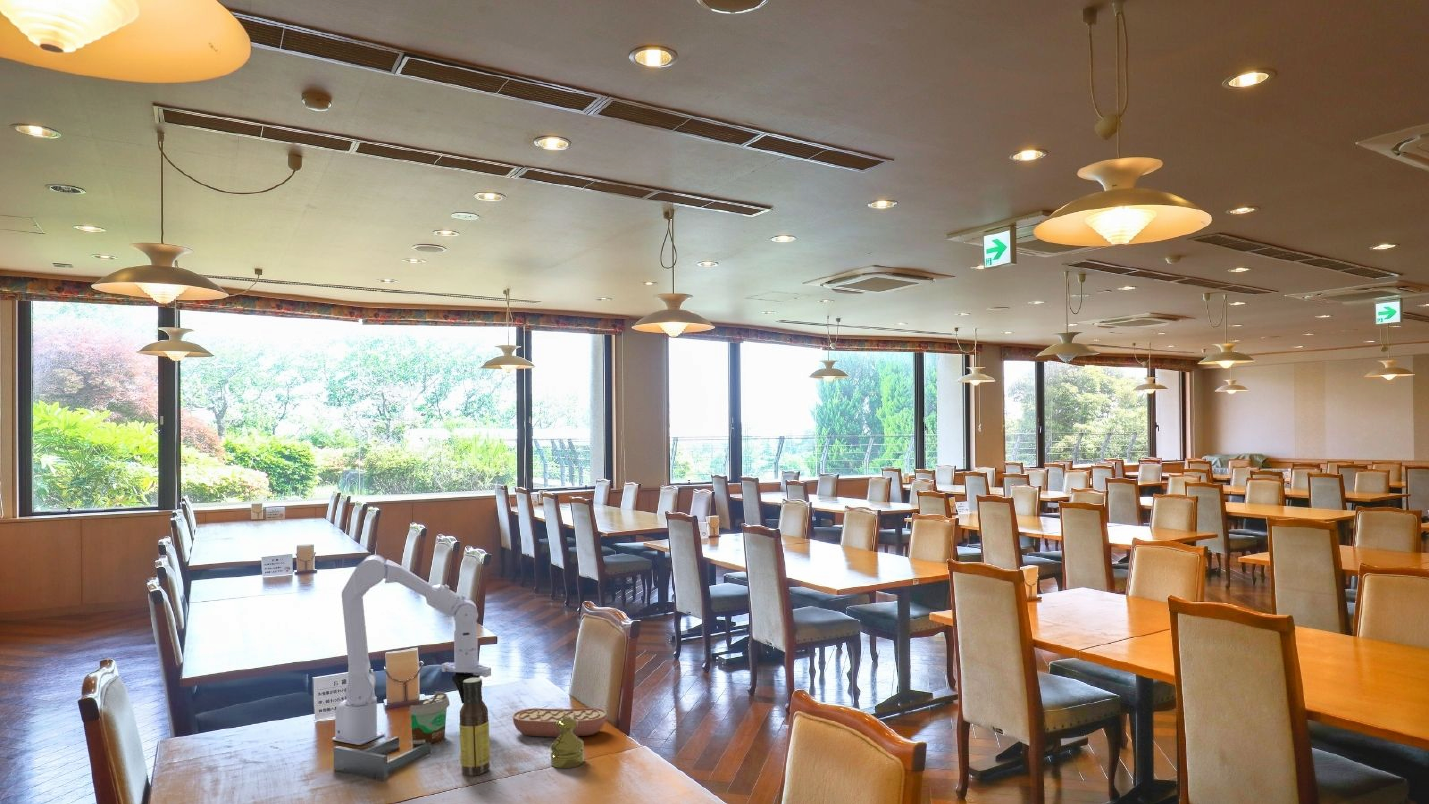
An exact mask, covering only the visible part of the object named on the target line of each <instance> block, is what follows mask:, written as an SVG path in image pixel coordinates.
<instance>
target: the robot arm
mask: <svg viewBox="0 0 1429 804" xmlns="http://www.w3.org/2000/svg"><path fill="white" fill-rule="evenodd" d="M349 577H350V578H348V580H347V582H346V584H345V586H344V587H343V588H342V591H341V602H342V603H341V604H342V612H343V613H342V614H343V615H342V616H343V621H344V622H343V624H344V633H345V643H346V644H345V645H346V651H347V664H348V665H347V666H348V668H347V669H348V670H347V679H348V683H347V686H346V688H345V693H344V694H345V698H346V699H344V700H342V701H340V702H339V704H338V705H337V707H336V710H335V715H334V716H335V718H334V719H335V720H334V723H335V725H334V728H335V729H334V733H335V734H334V737H332V740H333V741H334V742H335V741H337V742H341V743H344V744H345V743H347V744H349V745H350V744H352V745H357V746H361V745H365V744H367V743H368V742H371V741H373V740H376V739H378V738H381V737H382V736H385V735H386V732H383V731H378V728H377V727H378V702H377V701H378V697H377V696H376V695H375V694H374V692H375V687H376V684H377V678H376V675H375V674H374V672H373V671H372V668H371V667H372V666H371V662H370V657H369V649H368V646H369V645H368V640H367V639H368V638H367V636H368V635H367V628H366V618H365V617H366V616H365V608H364V607H365V606H364V598H363V597H364V596H365V595H366V594H367V593H368V591H370V589H371V588H373V587H374V586H376V585H378V584H380V583H381V582H382V581H383V580H384V579H385V580H384V584H391V583H392V584H393V583H398V584H400V585H402V586H403V587H406V588H407V589H410V590H411V591H413V592H415V593H417V594H419V595H421V596H423V597H425V600H426V605H428V606H430V607H431V608H433V609H434V610H437V611H439V612H440V613H442V614H444V615H445V616H448V617H453V619H454V622H455V623H454V626H455V628H454V631H453V636H454V637H453V641H454V642H453V644H454V645H453V651H454V653H453V654H454V655H453V656H454V659H453V662H447V661H446V662H444V663H441V672H443V673H446V672H449V673H455V674H454V675H452V676H451V680H452V681H453V683H454V685H455V687H456V689H457V691H458V694H459V697H460V701H461V704H464V688H463V681H464V680H465V679H468V678H481V677H483V678H488V677H491V676H492V667H488V666H485V665H482V664H480V662H479V658H478V653H479V652H478V651H479V650H478V649H479V648H478V646H479V645H478V640H479V639H478V628H477V626H478V622H477V620H478V618H479V613H478V609H477V605H476V603H475V602H474V601H473V600H471V599H470V598H467V596H466V595H464V594H462V595H460V594H459V593H456V592H455V591H453V590H452V589H450V586H449V585H448V584H444V585H442V583H438V584H435V585H432V584H431V583H429V582H427V581H426V580H424V579H422V578H421V577H419V575H418V576H417V575H416V574H415V573H413V572H411V571H410V570H409V569H407V568H406V567H403V566H402V565H401V564H398V563H396V562H394V561H393V560H390V559H385V558H384V557H383V556H382V555H379V554H372V555H368V556H366V557H365V558H364V559H363V560H362V561H360V563H358V564H357V566H356V567H355V569H354V570H353V572H352V573H351V575H350V576H349Z"/></svg>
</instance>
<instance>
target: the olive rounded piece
mask: <svg viewBox="0 0 1429 804" xmlns="http://www.w3.org/2000/svg"><path fill="white" fill-rule="evenodd" d="M577 725H578V721H577V720H576V719H574V718H571V717H564V718H562V719H560V720H559V721H557V722H556V726H557V727H558V728H559V729H560V730H561V734H560V735H559V736H558V737H556V739H554V740H552V742H550V750H551V753H550V764H551V766H553V768H554V767H555V768H556V769H571V768H576V767H579V766H580V765H582V763H584V761H585V759H584V756H585V751H584V750H583V749H584V746H585V741H584V740H583V739H582V738H580V736H577V735H575V734H574V732H573V729H574V728H575V727H576V726H577Z"/></svg>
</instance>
